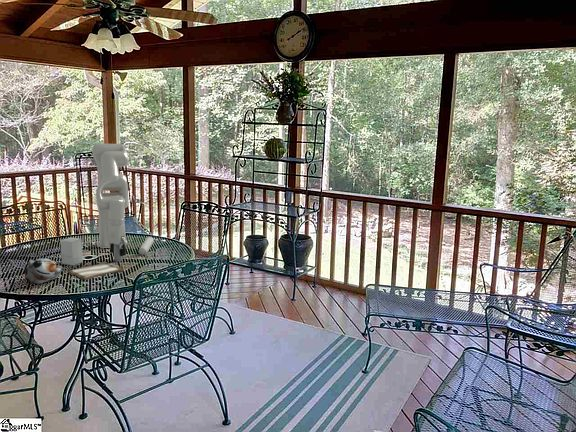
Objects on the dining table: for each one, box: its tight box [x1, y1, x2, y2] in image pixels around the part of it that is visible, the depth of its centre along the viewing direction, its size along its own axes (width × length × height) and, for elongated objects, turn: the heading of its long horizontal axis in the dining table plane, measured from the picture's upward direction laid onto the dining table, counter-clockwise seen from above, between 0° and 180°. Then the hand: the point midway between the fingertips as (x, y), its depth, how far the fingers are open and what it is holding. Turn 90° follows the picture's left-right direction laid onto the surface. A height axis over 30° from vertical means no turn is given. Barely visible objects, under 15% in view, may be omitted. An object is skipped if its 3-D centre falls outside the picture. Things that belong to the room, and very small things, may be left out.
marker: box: [113, 242, 123, 263], centre depth 257 cm, size 4×4×12 cm
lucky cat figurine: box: [24, 257, 63, 285], centre depth 222 cm, size 15×12×14 cm
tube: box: [138, 236, 155, 256], centre depth 281 cm, size 5×5×25 cm
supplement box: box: [60, 237, 84, 266], centre depth 250 cm, size 7×7×13 cm
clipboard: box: [67, 262, 125, 281], centre depth 238 cm, size 16×20×2 cm
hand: (118, 253), depth 258 cm, fingers open, 8 cm apart
